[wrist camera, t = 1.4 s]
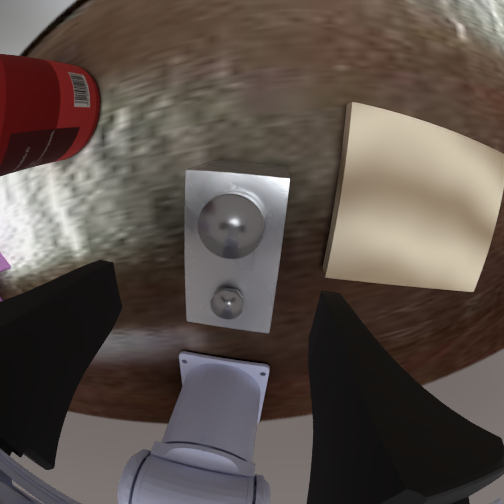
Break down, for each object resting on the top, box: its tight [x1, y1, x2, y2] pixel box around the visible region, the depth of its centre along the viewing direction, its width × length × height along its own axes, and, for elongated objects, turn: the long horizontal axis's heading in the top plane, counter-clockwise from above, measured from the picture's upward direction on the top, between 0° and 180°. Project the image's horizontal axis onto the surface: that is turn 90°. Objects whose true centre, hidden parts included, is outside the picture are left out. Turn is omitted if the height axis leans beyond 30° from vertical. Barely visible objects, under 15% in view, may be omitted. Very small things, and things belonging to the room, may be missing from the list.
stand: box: [323, 102, 504, 292], centre depth 16 cm, size 11×13×2 cm
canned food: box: [0, 54, 100, 176], centre depth 11 cm, size 8×8×11 cm
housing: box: [185, 160, 290, 333], centre depth 16 cm, size 8×4×7 cm, turn 175°
